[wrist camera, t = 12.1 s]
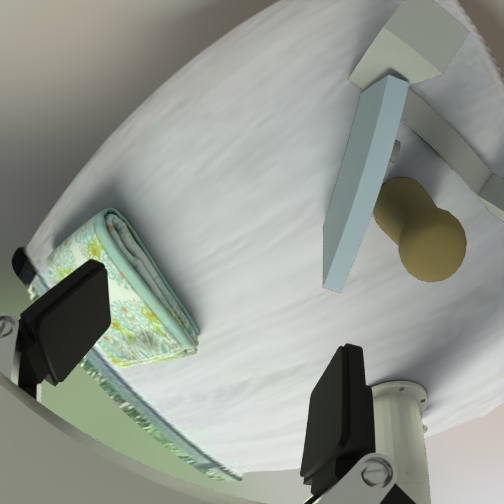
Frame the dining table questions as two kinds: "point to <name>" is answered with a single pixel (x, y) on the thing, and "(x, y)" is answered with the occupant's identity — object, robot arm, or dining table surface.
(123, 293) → the towel
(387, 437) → the robot arm
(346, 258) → the door
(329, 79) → the dining table surface
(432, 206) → the cork
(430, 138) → the door frame
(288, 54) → the dining table surface
